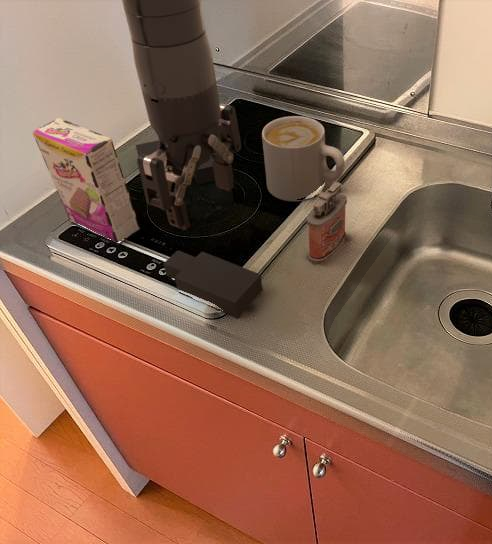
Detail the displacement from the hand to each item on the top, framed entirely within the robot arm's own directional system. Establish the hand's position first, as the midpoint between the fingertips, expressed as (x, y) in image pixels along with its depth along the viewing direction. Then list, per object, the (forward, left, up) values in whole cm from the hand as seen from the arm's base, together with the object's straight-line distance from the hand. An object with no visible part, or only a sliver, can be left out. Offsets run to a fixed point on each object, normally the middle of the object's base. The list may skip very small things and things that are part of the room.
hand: (203, 206), depth 69 cm
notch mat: (0, +32, -15) cm, 36 cm away
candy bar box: (-14, +21, -15) cm, 29 cm away
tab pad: (-1, +1, -15) cm, 15 cm away
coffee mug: (+19, +19, -15) cm, 31 cm away
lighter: (+17, +3, -15) cm, 23 cm away
